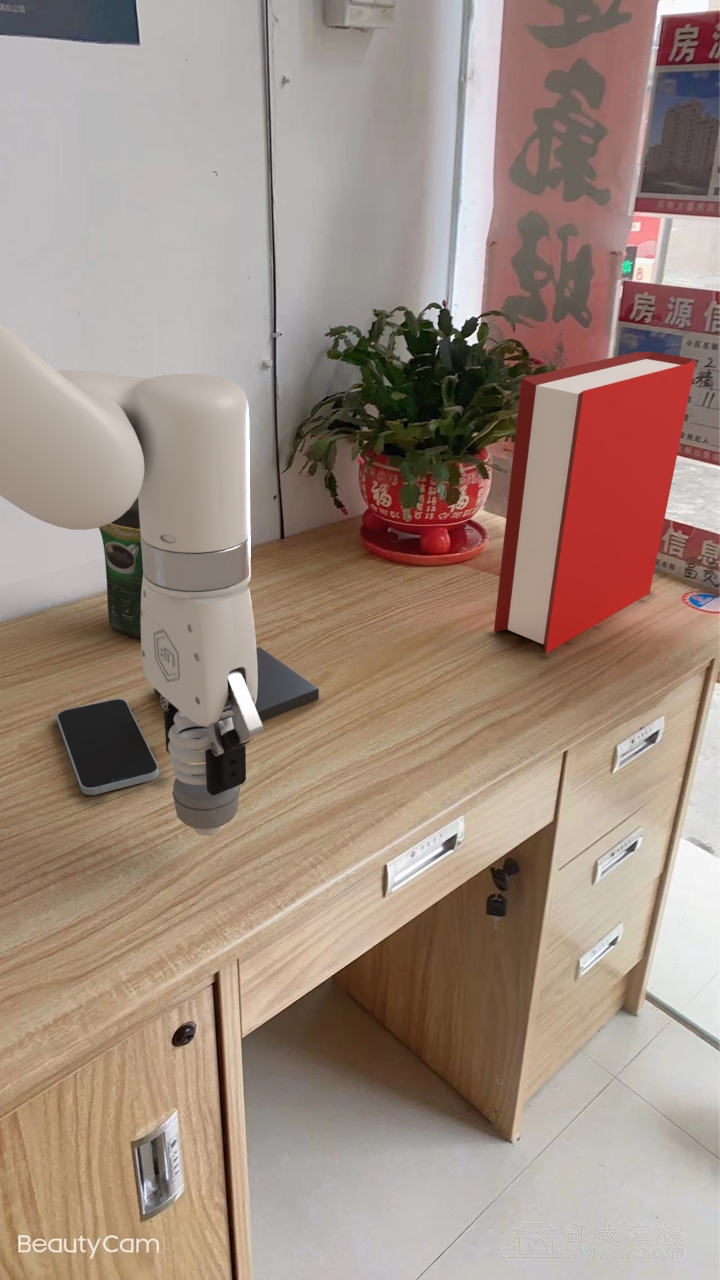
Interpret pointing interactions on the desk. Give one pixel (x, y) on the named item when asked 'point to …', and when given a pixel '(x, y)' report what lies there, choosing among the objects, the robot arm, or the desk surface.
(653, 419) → the book
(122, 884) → the desk surface
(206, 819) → the light bulb
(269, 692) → the black button base
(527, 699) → the desk surface
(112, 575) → the coffee jar
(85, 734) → the smartphone
